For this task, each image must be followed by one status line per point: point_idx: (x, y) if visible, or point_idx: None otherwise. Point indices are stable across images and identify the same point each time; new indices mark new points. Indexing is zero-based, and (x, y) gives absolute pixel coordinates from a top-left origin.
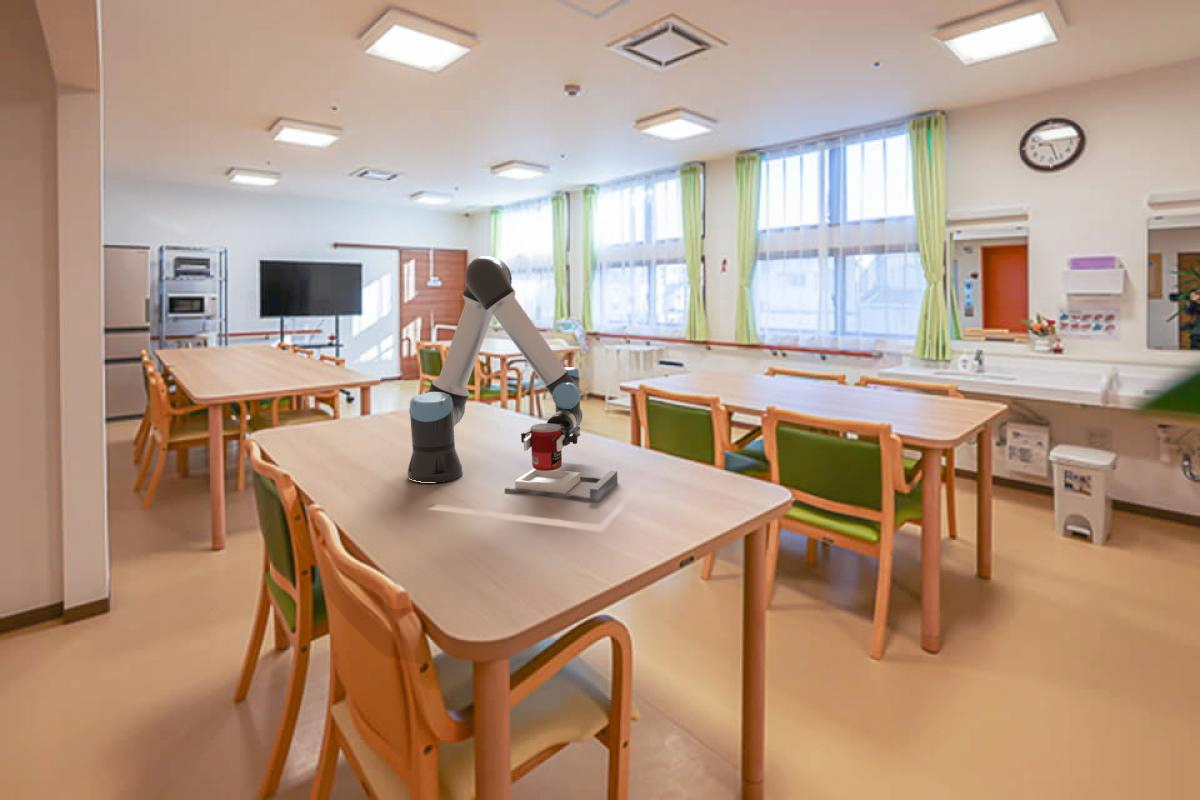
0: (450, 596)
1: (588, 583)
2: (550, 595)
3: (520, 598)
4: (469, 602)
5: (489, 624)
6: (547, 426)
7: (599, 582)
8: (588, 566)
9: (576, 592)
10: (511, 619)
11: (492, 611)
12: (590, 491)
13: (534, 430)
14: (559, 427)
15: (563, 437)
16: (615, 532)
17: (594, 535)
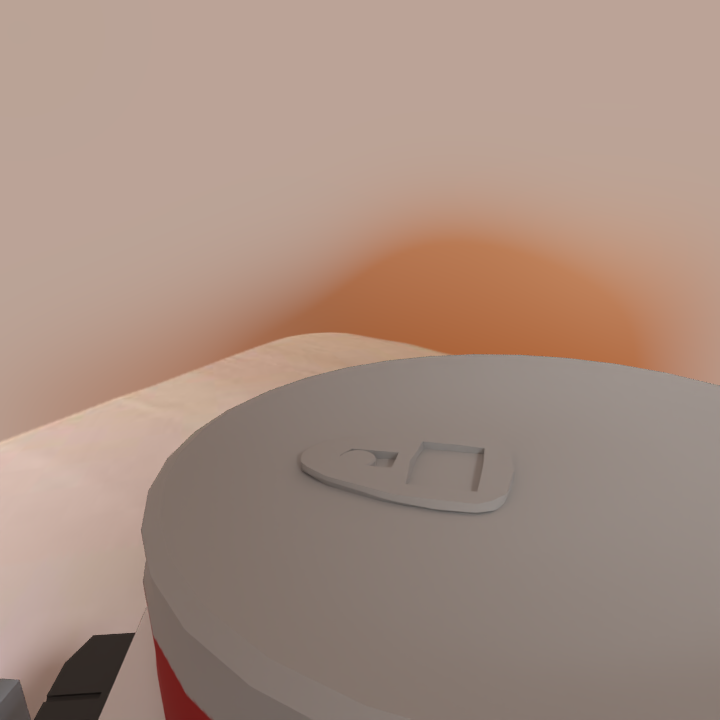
0: (388, 356)
1: (161, 395)
2: (229, 374)
3: (277, 366)
4: (351, 354)
5: (304, 342)
6: (558, 580)
7: (140, 399)
8: (154, 422)
9: (185, 382)
10: (278, 348)
11: (309, 351)
12: (20, 694)
13: (593, 380)
14: (174, 454)
15: (123, 684)
16: (24, 538)
17: (109, 513)
